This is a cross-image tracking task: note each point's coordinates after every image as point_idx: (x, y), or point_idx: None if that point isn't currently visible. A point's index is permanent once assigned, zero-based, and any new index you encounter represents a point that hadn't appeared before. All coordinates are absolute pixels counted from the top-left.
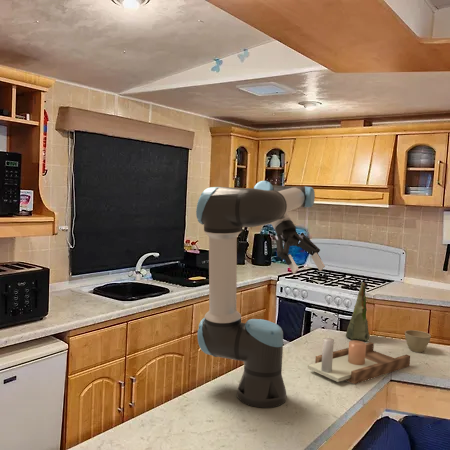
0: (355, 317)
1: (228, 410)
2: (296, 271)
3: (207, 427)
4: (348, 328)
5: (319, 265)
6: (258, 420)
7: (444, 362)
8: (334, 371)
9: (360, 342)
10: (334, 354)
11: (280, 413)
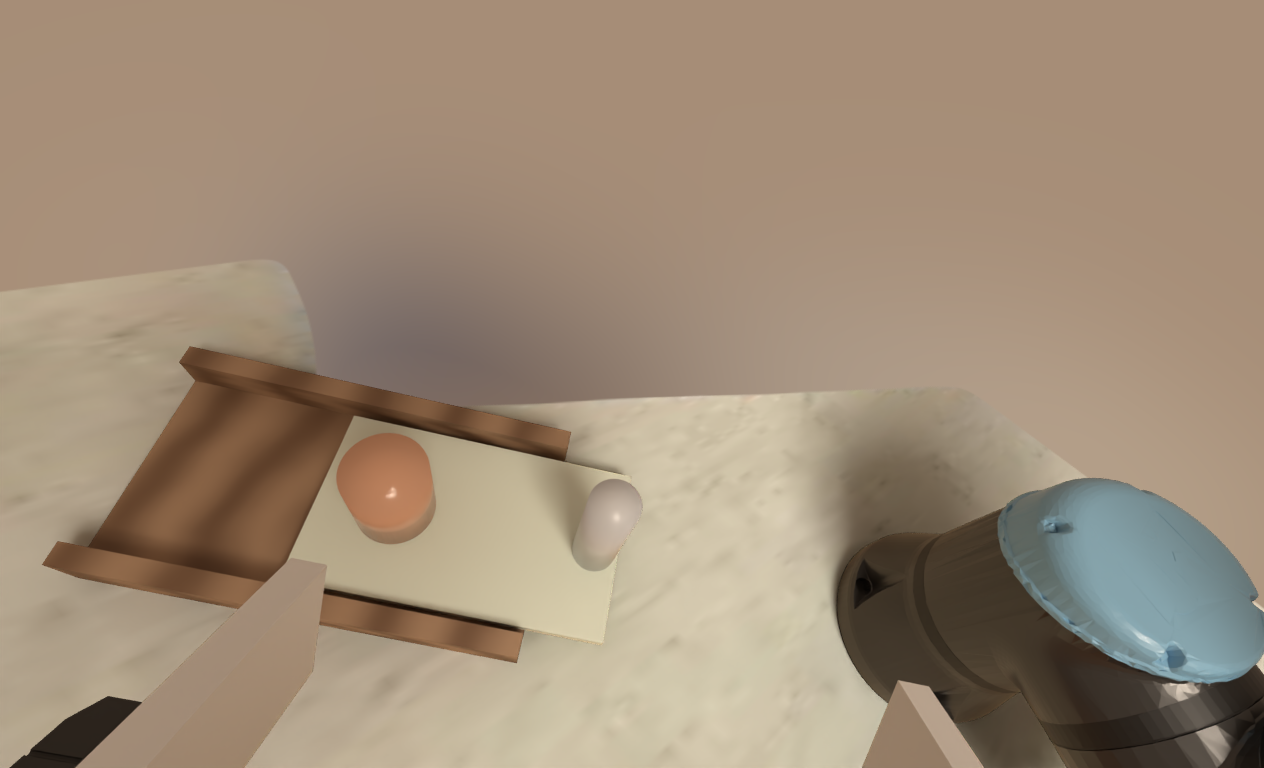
0: None
1: None
2: (880, 731)
3: None
4: None
5: (280, 673)
6: None
7: (59, 287)
8: (578, 520)
9: (360, 466)
10: (406, 610)
11: (927, 510)
